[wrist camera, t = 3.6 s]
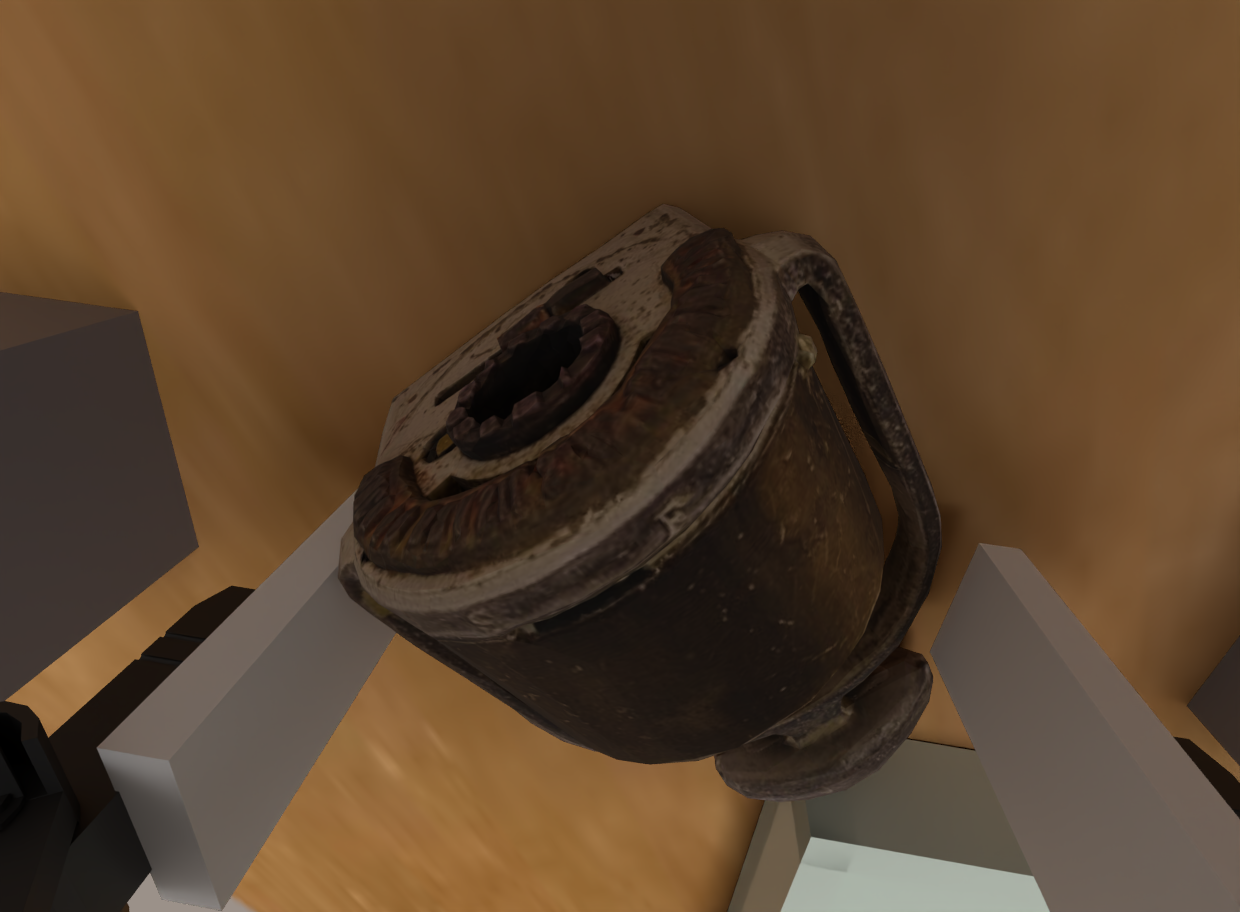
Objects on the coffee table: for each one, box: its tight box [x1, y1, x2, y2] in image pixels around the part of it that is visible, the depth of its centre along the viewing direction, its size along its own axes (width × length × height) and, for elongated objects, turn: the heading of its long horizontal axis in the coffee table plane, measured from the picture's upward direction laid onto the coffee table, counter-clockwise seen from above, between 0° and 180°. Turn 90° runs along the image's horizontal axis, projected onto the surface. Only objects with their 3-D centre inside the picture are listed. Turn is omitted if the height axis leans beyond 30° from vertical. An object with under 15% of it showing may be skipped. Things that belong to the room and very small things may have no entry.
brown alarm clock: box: [338, 204, 942, 802], centre depth 10 cm, size 7×13×10 cm
